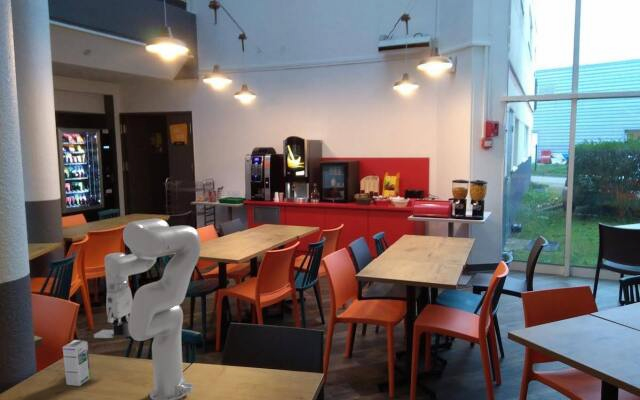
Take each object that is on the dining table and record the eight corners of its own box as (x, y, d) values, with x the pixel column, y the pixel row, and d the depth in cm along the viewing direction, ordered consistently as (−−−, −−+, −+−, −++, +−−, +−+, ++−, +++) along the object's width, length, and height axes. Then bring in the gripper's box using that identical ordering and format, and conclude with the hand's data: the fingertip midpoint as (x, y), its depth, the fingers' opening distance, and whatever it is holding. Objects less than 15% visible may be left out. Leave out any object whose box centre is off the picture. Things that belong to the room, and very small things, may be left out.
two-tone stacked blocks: (134, 332, 178) (133, 320, 177) (126, 338, 173) (124, 325, 173) (103, 332, 181) (101, 320, 181) (94, 337, 176) (92, 325, 176)
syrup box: (80, 386, 164) (76, 347, 163) (65, 384, 165) (62, 346, 164) (91, 378, 170) (88, 340, 168) (77, 377, 171) (73, 339, 169)
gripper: (112, 292, 166) (116, 342, 168) (139, 280, 182) (142, 325, 183) (94, 292, 167) (98, 341, 169) (122, 279, 183) (126, 324, 185)
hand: (121, 332), depth 176 cm, fingers closed on two-tone stacked blocks, 2 cm apart
